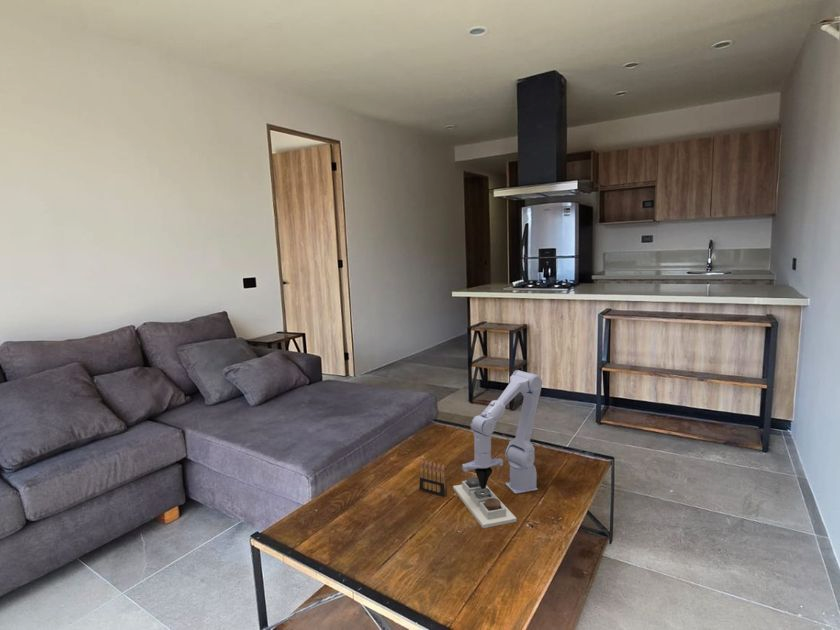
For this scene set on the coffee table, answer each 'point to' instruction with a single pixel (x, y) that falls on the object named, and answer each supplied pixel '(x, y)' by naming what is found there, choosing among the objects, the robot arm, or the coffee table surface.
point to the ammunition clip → (432, 479)
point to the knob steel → (482, 492)
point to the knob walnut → (492, 504)
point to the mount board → (483, 507)
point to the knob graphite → (473, 482)
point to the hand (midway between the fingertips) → (482, 487)
